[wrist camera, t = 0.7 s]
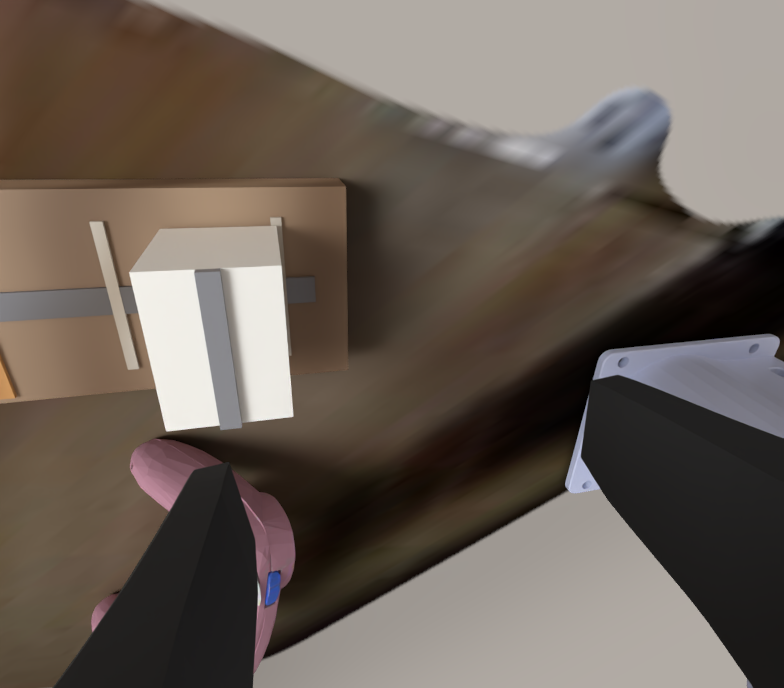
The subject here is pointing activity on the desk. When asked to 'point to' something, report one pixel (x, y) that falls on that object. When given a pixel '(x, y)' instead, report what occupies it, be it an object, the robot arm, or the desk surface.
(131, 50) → the desk surface
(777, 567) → the robot arm
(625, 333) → the desk surface
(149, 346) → the fader tab
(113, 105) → the desk surface
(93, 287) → the fader board
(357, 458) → the desk surface
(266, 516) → the video game controller
